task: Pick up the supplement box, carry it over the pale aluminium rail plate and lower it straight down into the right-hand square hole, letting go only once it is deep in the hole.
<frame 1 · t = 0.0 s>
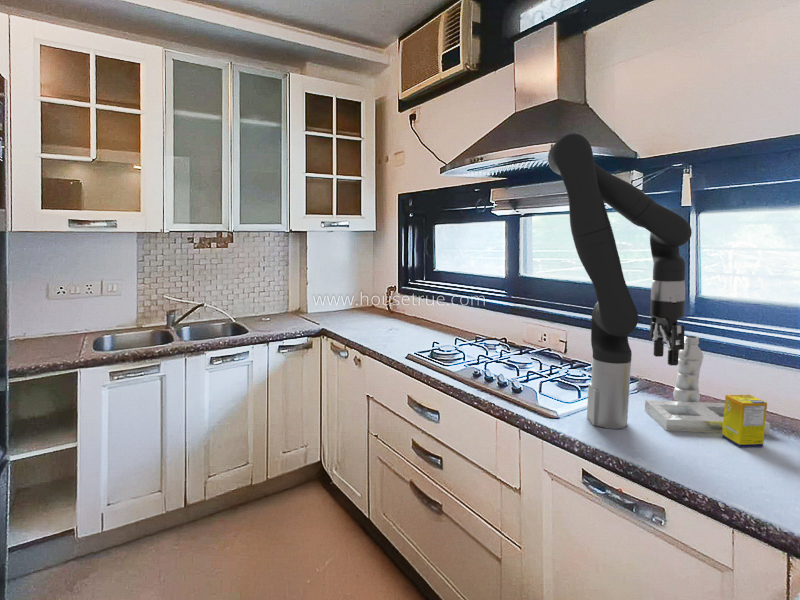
hand: (665, 360, 122), 17 cm above the table, tool pointing down, fingers open, 8 cm apart
plastic bottle: (685, 404, 139), on the table
rail plate: (702, 421, 125), on the table
supplement box: (741, 443, 113), on the table
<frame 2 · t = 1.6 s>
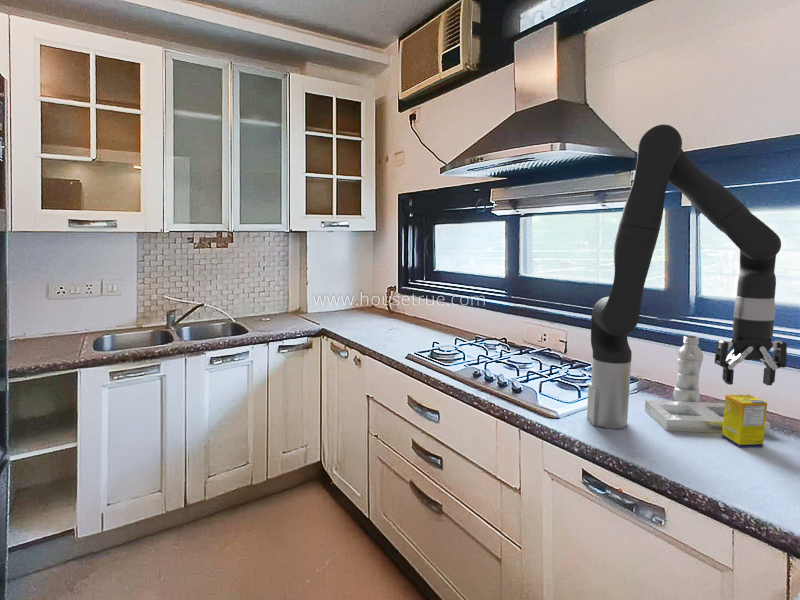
hand: (747, 384, 112), 14 cm above the table, tool pointing down, fingers open, 8 cm apart
nothing on the table moved.
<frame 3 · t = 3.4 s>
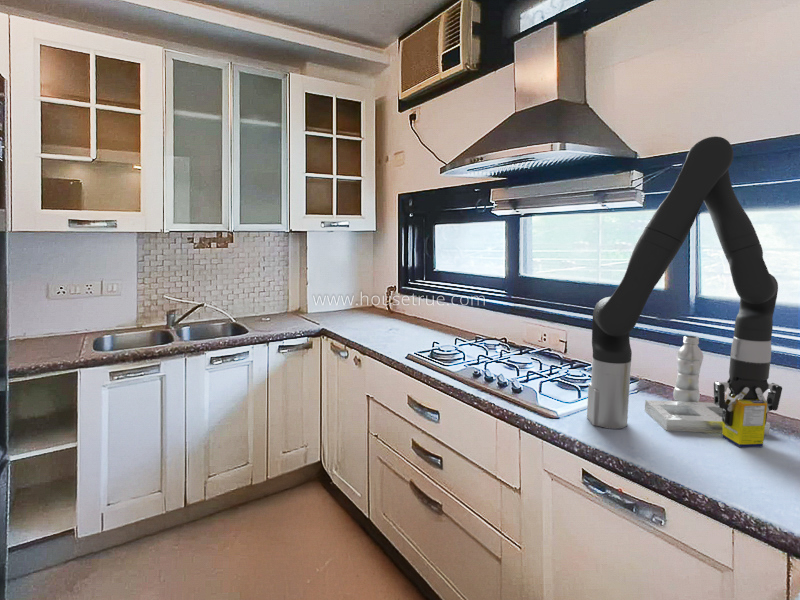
hand: (743, 425, 113), 4 cm above the table, tool pointing down, fingers closed on supplement box, 6 cm apart
supplement box: (741, 442, 113), on the table, touching gripper
everything else where it was.
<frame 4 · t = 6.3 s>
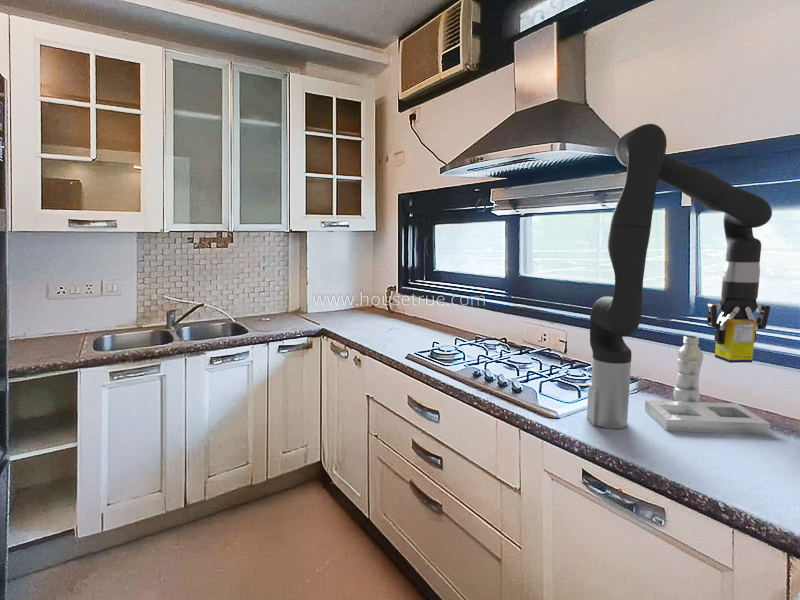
hand: (734, 344, 122), 21 cm above the table, tool pointing down, fingers closed on supplement box, 6 cm apart
supplement box: (732, 360, 122), point 17 cm above the table, touching gripper
everything else where it was.
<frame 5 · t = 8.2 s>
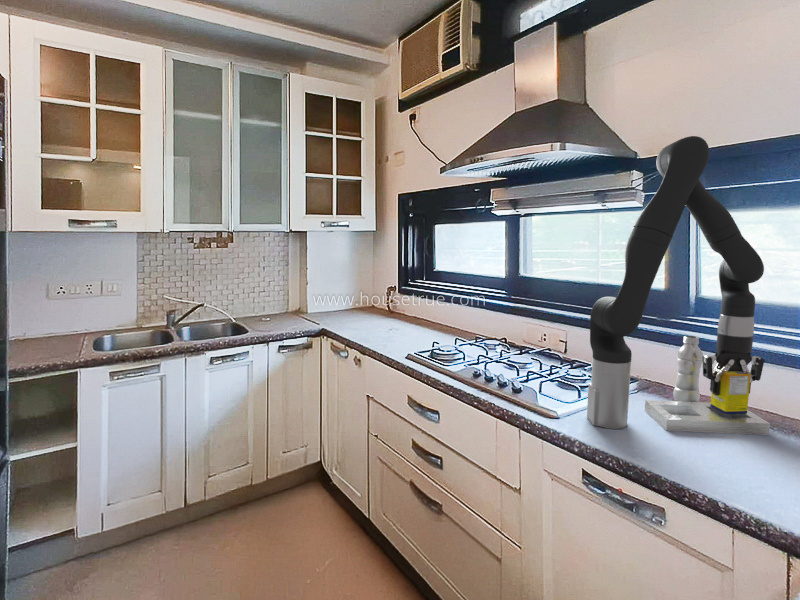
hand: (729, 394, 124), 8 cm above the table, tool pointing down, fingers closed on supplement box, 6 cm apart
supplement box: (727, 410, 124), point 3 cm above the table, touching gripper
everything else where it was.
when the fingers open (5 cm above the table, at t = 9.6 s): supplement box stays where it is, resting in rail plate.
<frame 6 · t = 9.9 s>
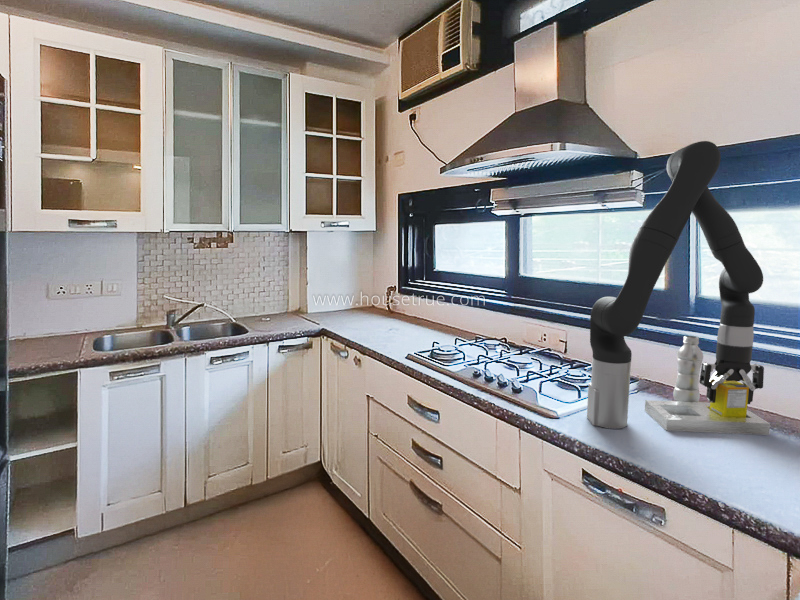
hand: (728, 402, 124), 6 cm above the table, tool pointing down, fingers open, 8 cm apart
supplement box: (726, 423, 125), resting in rail plate
everything else where it was.
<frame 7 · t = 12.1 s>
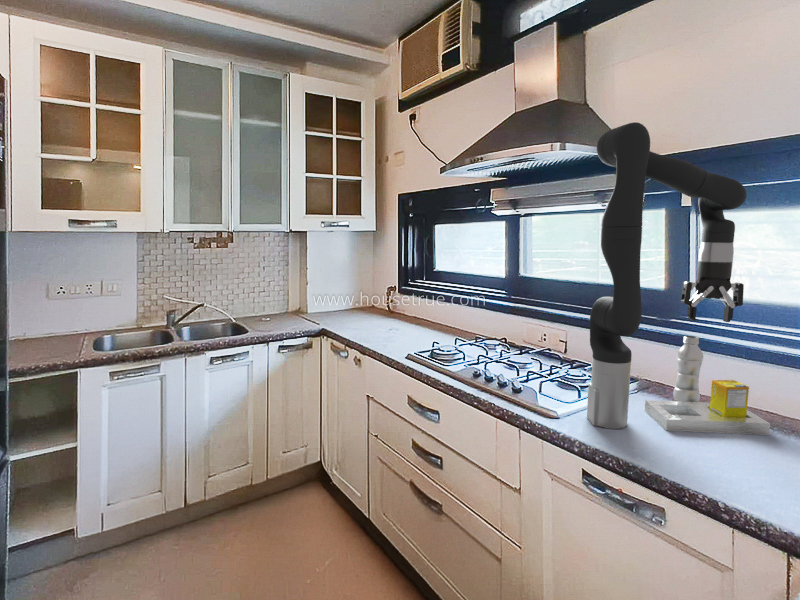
hand: (709, 321, 126), 26 cm above the table, tool pointing down, fingers open, 8 cm apart
nothing on the table moved.
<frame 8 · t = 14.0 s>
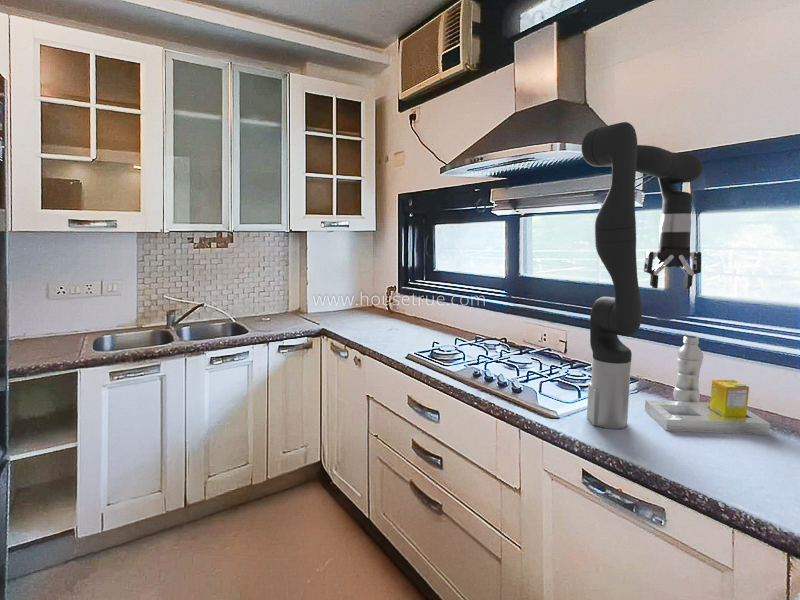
hand: (670, 288, 134), 34 cm above the table, tool pointing down, fingers open, 8 cm apart
nothing on the table moved.
at the end: supplement box 0.1 cm from the target spot on the rail plate, point 0.0 cm above the rail plate's base; supplement box tilted 0°; the gripper is holding nothing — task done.
